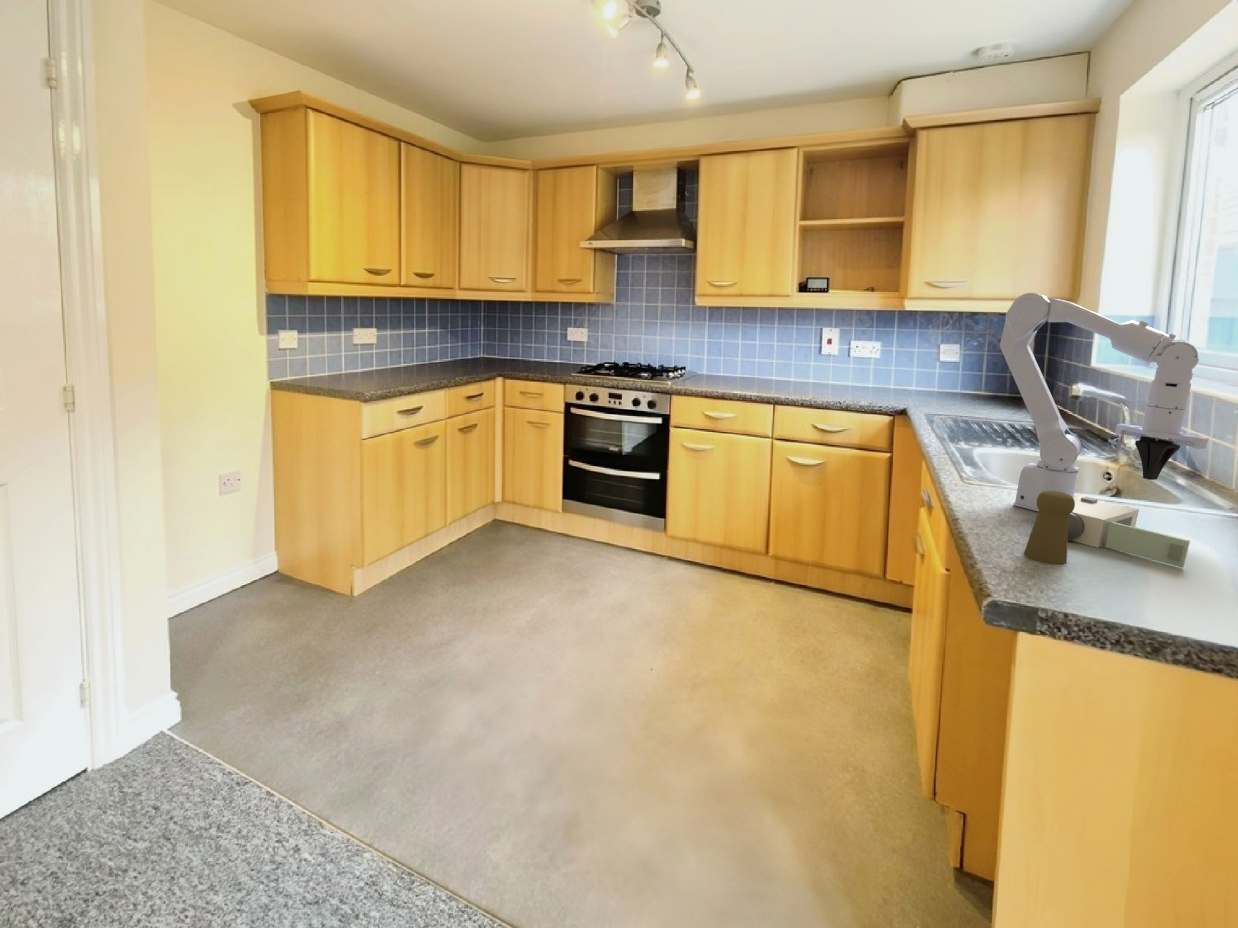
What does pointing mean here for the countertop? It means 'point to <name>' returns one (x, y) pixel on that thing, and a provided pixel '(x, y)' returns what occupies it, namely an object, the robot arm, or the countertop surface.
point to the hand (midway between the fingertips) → (1149, 478)
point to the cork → (1050, 528)
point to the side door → (1146, 543)
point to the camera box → (1096, 519)
